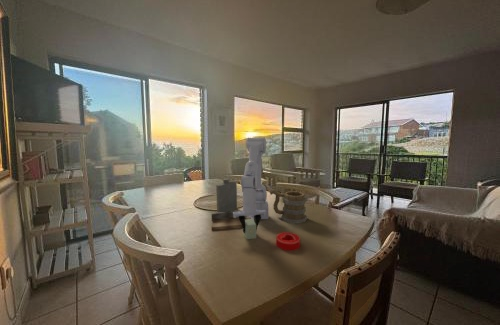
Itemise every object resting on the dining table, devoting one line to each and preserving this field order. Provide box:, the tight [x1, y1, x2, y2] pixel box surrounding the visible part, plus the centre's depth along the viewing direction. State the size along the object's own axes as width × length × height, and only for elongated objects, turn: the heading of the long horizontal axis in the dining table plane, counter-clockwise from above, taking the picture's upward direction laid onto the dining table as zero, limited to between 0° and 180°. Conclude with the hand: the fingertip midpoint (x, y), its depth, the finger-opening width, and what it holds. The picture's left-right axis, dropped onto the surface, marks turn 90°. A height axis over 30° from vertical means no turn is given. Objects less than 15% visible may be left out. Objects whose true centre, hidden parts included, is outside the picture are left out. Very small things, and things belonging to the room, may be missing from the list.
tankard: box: [269, 189, 308, 225], centre depth 111 cm, size 20×13×15 cm, turn 65°
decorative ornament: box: [275, 231, 301, 251], centre depth 83 cm, size 10×10×3 cm
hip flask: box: [215, 178, 238, 213], centre depth 121 cm, size 16×4×20 cm, turn 143°
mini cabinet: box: [243, 218, 257, 240], centre depth 91 cm, size 4×8×6 cm, turn 10°
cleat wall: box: [211, 210, 247, 231], centre depth 103 cm, size 18×10×5 cm, turn 100°
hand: (249, 231), depth 91 cm, fingers closed on mini cabinet, 4 cm apart
